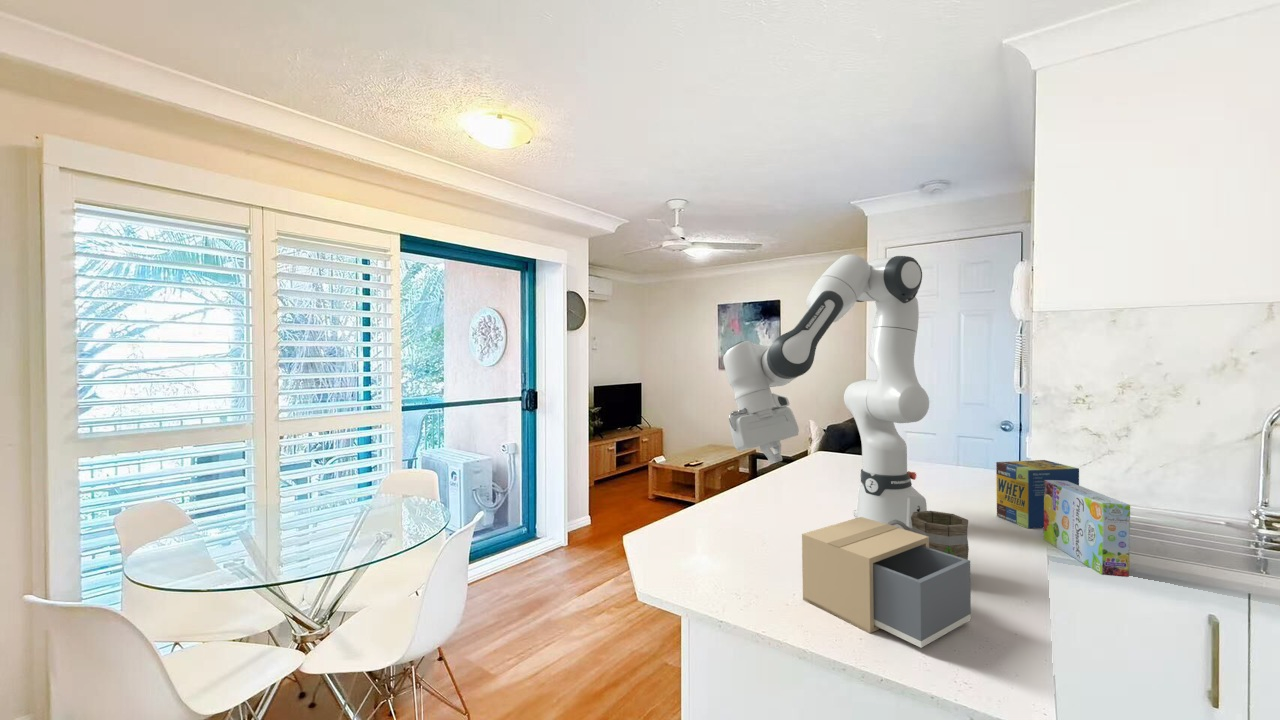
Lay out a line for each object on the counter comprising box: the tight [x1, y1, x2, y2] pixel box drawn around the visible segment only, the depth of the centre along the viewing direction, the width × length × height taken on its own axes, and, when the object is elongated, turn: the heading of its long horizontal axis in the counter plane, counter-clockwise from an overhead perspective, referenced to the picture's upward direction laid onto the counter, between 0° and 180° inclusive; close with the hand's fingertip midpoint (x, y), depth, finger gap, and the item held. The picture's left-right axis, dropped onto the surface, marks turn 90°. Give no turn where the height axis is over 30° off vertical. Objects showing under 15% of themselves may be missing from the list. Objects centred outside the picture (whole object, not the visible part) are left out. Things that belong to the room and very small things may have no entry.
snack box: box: [1043, 480, 1131, 578], centre depth 114 cm, size 21×6×15 cm, turn 168°
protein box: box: [995, 459, 1080, 529], centre depth 138 cm, size 10×15×16 cm
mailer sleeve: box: [801, 517, 929, 634], centre depth 95 cm, size 18×14×13 cm
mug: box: [888, 510, 970, 560], centre depth 106 cm, size 16×11×12 cm
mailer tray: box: [873, 545, 972, 649], centre depth 92 cm, size 15×22×10 cm
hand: (776, 462), depth 119 cm, fingers closed
